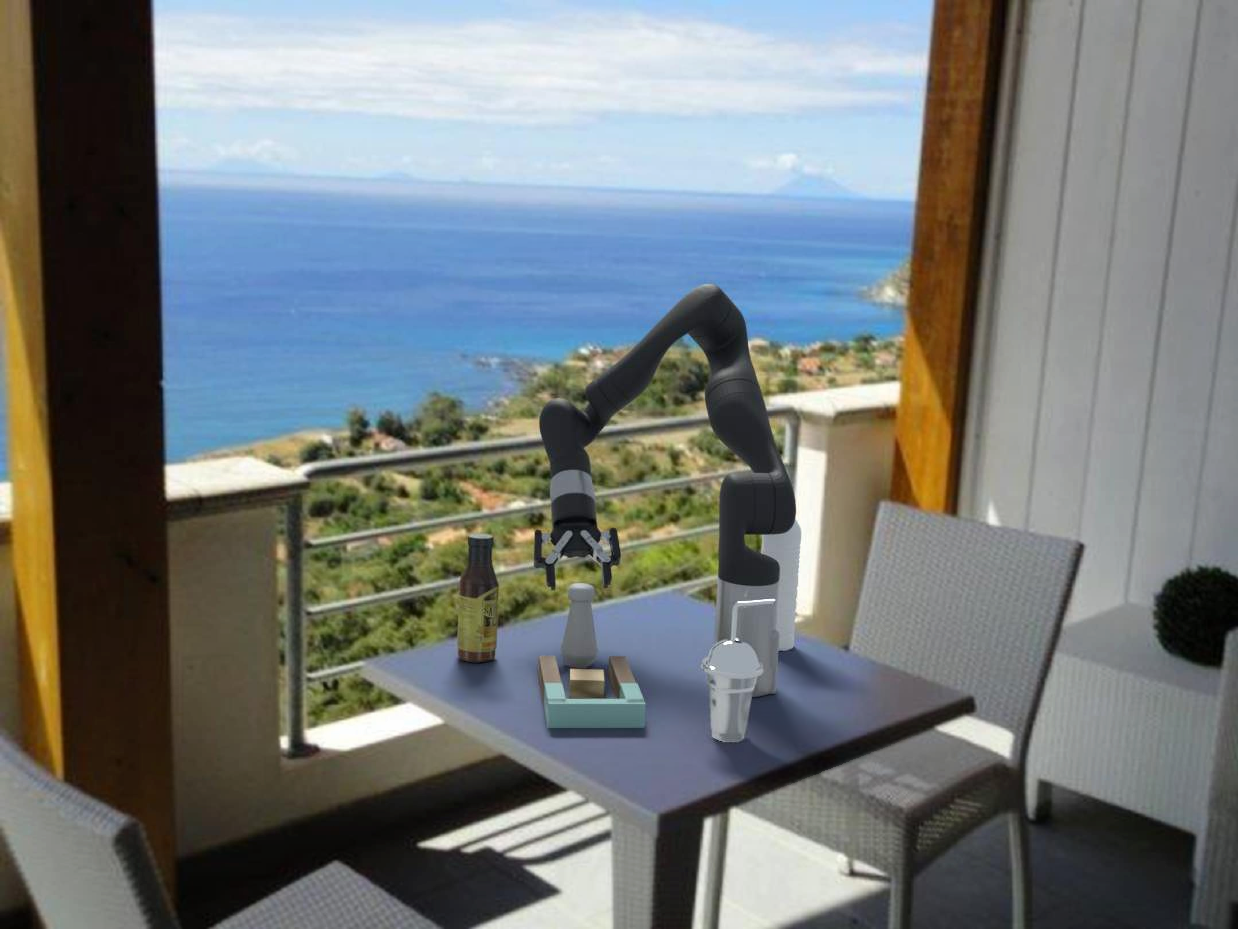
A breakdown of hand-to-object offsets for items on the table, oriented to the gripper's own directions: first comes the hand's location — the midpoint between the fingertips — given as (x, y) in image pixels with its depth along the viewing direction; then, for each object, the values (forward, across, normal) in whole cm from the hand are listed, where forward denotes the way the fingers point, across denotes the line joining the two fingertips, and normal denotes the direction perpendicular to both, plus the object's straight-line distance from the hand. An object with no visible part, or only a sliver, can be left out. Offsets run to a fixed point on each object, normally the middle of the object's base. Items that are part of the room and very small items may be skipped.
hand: (579, 587), depth 212 cm
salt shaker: (+12, +1, -3) cm, 13 cm away
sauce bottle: (+10, +17, -5) cm, 20 cm away
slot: (+21, +1, +6) cm, 21 cm away
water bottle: (+7, -33, -10) cm, 36 cm away
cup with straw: (+35, -17, +18) cm, 43 cm away
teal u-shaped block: (+28, +1, +13) cm, 31 cm away
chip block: (+22, +1, +6) cm, 22 cm away
